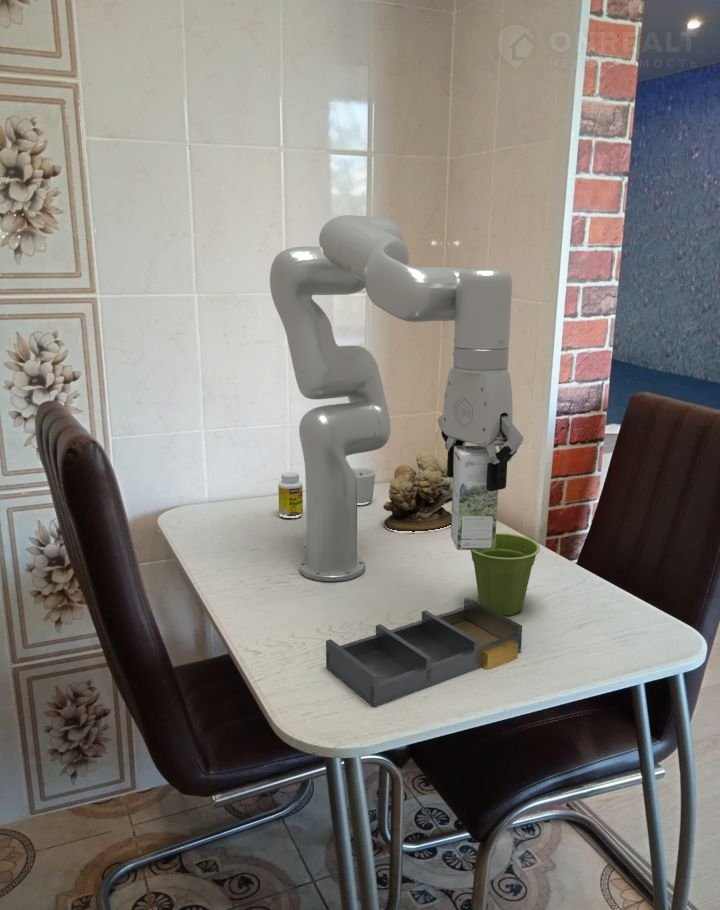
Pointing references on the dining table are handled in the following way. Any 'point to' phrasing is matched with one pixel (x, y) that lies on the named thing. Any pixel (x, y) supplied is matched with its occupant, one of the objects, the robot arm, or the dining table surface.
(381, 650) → the tray
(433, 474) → the brown lumpy piece
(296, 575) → the dining table surface
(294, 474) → the supplement bottle
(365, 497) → the cup
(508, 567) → the plant pot
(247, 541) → the dining table surface
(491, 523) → the syrup box
